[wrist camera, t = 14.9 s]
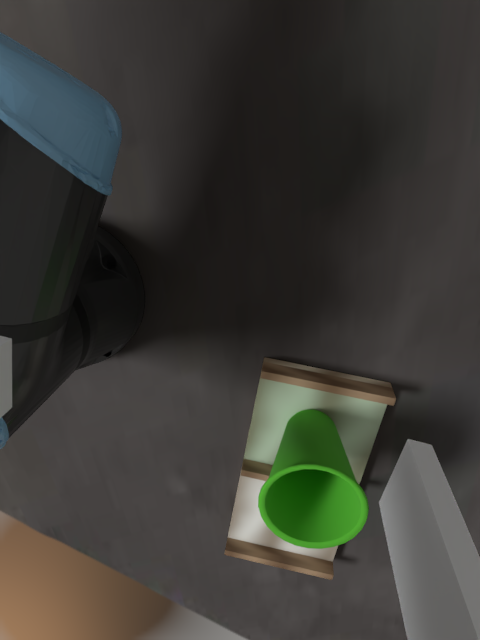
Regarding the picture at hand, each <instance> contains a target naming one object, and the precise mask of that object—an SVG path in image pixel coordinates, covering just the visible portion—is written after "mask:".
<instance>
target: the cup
mask: <svg viewBox="0 0 480 640" xmlns="http://www.w3.org/2000/svg"><path fill="white" fill-rule="evenodd" d="M258 508H259V511H260V515H261V517H262V519H263V521H264V522H265V524H266V525H267V527H268V528H269V529H270V530H271V531H272V532H273V533H274V534H275V535H276V536H278V537H279V538H281V539H283V540H284V541H286V542H288V543H291V544H293V545H296V546H300V547H305V548H313V549H323V548H330V547H335V546H338V545H341V544H344V543H346V542H347V541H349V540H351V539H352V538H354V537H355V536H356V535H357V534H358V533H359V532H360V531H361V530H362V528H363V526H364V524H365V522H366V520H367V517H368V511H369V506H368V500H367V497H366V495H365V493H364V491H363V489H362V487H361V486H360V485H359V484H358V483H357V481H356V479H355V476H354V473H353V471H352V468H351V465H350V463H349V460H348V457H347V455H346V452H345V449H344V447H343V444H342V441H341V439H340V436H339V434H338V431H337V428H336V426H335V424H334V422H333V420H332V419H331V418H330V417H329V416H328V415H326V414H325V413H323V412H321V411H318V410H313V409H307V410H302V411H300V412H298V413H296V414H295V415H293V416H292V417H291V418H290V419H289V421H288V422H287V425H286V428H285V431H284V434H283V437H282V440H281V443H280V446H279V449H278V452H277V455H276V458H275V461H274V464H273V467H272V470H271V472H270V475H269V478H268V479H267V481H266V482H265V483H264V485H263V486H262V488H261V490H260V493H259V496H258Z"/></svg>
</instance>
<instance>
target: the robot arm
mask: <svg viewBox="0 0 480 640" xmlns="http://www.w3.org/2000/svg"><path fill="white" fill-rule="evenodd" d="M121 138H122V128H121V122H120V119H119V117H118V115H117V113H116V111H115V109H114V108H113V106H112V105H111V104H110V103H109V102H108V101H107V100H106V99H105V98H104V97H103V96H101V95H100V94H99V93H97V92H96V91H94V90H93V89H92V88H90V87H89V86H87V85H86V84H84V83H83V82H81V81H80V80H78V79H76V78H75V77H73V76H72V75H70V74H69V73H67V72H66V71H64V70H62V69H61V68H59V67H58V66H56V65H54V64H53V63H51V62H49V61H48V60H46V59H44V58H43V57H41V56H40V55H38V54H36V53H35V52H33V51H31V50H30V49H28V48H26V47H25V46H23V45H21V44H20V43H18V42H16V41H15V40H13V39H11V38H10V37H8V36H6V35H5V34H3V33H1V32H0V449H1V448H2V447H4V446H5V444H6V441H7V440H8V438H9V437H10V436H11V435H12V434H13V433H14V432H15V431H16V430H17V429H18V428H19V427H20V426H21V425H22V424H23V423H24V422H25V421H26V420H27V419H28V418H29V417H30V416H31V415H32V414H33V413H34V412H35V411H36V410H37V409H38V408H39V407H40V406H41V405H42V404H43V403H44V402H45V401H46V400H47V399H48V398H49V397H50V396H51V395H52V394H53V393H54V392H55V390H56V389H57V388H58V387H59V386H60V385H61V384H62V383H63V382H64V381H65V380H66V379H67V378H68V377H69V376H70V375H71V374H72V373H73V372H74V371H75V370H78V369H81V368H84V367H87V366H90V365H92V364H96V363H98V362H101V361H104V360H106V359H108V358H110V357H111V356H113V355H114V354H116V353H117V352H118V351H120V350H121V349H122V348H123V347H124V346H125V344H126V343H127V342H128V341H129V340H130V339H131V338H132V337H133V335H134V334H135V332H136V331H137V329H138V327H139V325H140V323H141V320H142V317H143V313H144V306H145V294H144V287H143V282H142V279H141V276H140V273H139V271H138V268H137V266H136V264H135V262H134V261H133V259H132V257H131V256H130V254H129V253H128V252H127V250H126V249H125V248H124V247H123V245H122V244H121V243H120V242H119V241H118V240H117V239H116V238H114V237H113V236H112V235H111V234H109V233H108V232H107V231H105V230H104V229H102V228H101V227H99V226H98V224H99V221H100V218H101V214H102V211H103V208H104V205H105V202H106V199H107V196H108V195H111V193H112V185H111V180H112V175H113V171H114V167H115V163H116V159H117V155H118V151H119V147H120V143H121ZM379 506H380V510H381V515H382V520H383V525H384V529H385V534H386V539H387V544H388V549H389V553H390V558H391V563H392V568H393V572H394V577H395V582H396V587H397V591H398V596H399V601H400V606H401V610H402V615H403V620H404V625H405V629H406V634H407V639H408V640H480V557H479V555H478V552H477V550H476V548H475V545H474V543H473V541H472V538H471V536H470V533H469V531H468V529H467V526H466V524H465V522H464V519H463V517H462V515H461V512H460V510H459V508H458V505H457V503H456V501H455V498H454V496H453V493H452V491H451V489H450V486H449V484H448V482H447V479H446V477H445V475H444V472H443V470H442V468H441V465H440V463H439V461H438V458H437V456H436V453H435V451H434V449H433V446H432V445H430V444H427V443H423V442H419V441H415V440H411V439H407V441H406V444H405V446H404V448H403V450H402V453H401V455H400V457H399V459H398V461H397V464H396V466H395V468H394V470H393V473H392V475H391V477H390V479H389V481H388V484H387V486H386V488H385V490H384V493H383V495H382V497H381V499H380V501H379Z"/></svg>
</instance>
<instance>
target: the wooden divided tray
mask: <svg viewBox="0 0 480 640" xmlns="http://www.w3.org/2000/svg"><path fill="white" fill-rule="evenodd" d="M395 401H396V397H395V394H394V391H393V389H392V386H391V383H389V382H384V381H379V380H374V379H369V378H364V377H360V376H355V375H350V374H345V373H340V372H335V371H330V370H325V369H320V368H315V367H310V366H306V365H301V364H296V363H291V362H286V361H281V360H276V359H271V358H266V357H264V361H263V366H262V371H261V376H260V381H259V386H258V390H257V395H256V400H255V405H254V410H253V415H252V420H251V425H250V430H249V435H248V440H247V445H246V450H245V454H244V459H243V464H242V469H241V474H240V479H239V484H238V489H237V494H236V499H235V504H234V509H233V514H232V519H231V523H230V528H229V533H228V538H227V544H226V549H225V554H224V555H228V556H232V557H236V558H241V559H245V560H249V561H253V562H258V563H262V564H266V565H270V566H275V567H279V568H283V569H288V570H292V571H296V572H300V573H305V574H309V575H313V576H317V577H322V578H326V579H330V580H332V578H333V559H334V556H335V553H336V551H337V548H338V546H335V547H330V548H323V549H313V548H305V547H300V546H296V545H293V544H291V543H288V542H286V541H284V540H283V539H281V538H279V537H278V536H276V535H275V534H274V533H273V532H272V531H271V530H270V529H269V528H268V527H267V525H266V524H265V522H264V521H263V519H262V517H261V515H260V511H259V508H258V496H259V493H260V490H261V488H262V486H263V485H264V483H265V482H266V481H267V479H268V478H269V475H270V472H271V470H272V467H273V464H274V461H275V458H276V455H277V452H278V449H279V446H280V443H281V440H282V437H283V434H284V431H285V428H286V425H287V422H288V421H289V419H290V418H291V417H292V416H293V415H295V414H296V413H298V412H300V411H302V410H307V409H313V410H318V411H321V412H323V413H325V414H326V415H328V416H329V417H330V418H331V419H332V420H333V422H334V424H335V426H336V428H337V431H338V434H339V436H340V439H341V441H342V444H343V447H344V449H345V452H346V455H347V457H348V460H349V463H350V465H351V468H352V471H353V473H354V476H355V479H356V481H357V483H358V484H359V485H360V481H361V479H362V476H363V473H364V470H365V467H366V464H367V461H368V458H369V456H370V453H371V450H372V447H373V444H374V441H375V438H376V435H377V433H378V430H379V427H380V424H381V421H382V418H383V415H384V412H385V410H386V407H387V405H392V406H394V404H395Z"/></svg>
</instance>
